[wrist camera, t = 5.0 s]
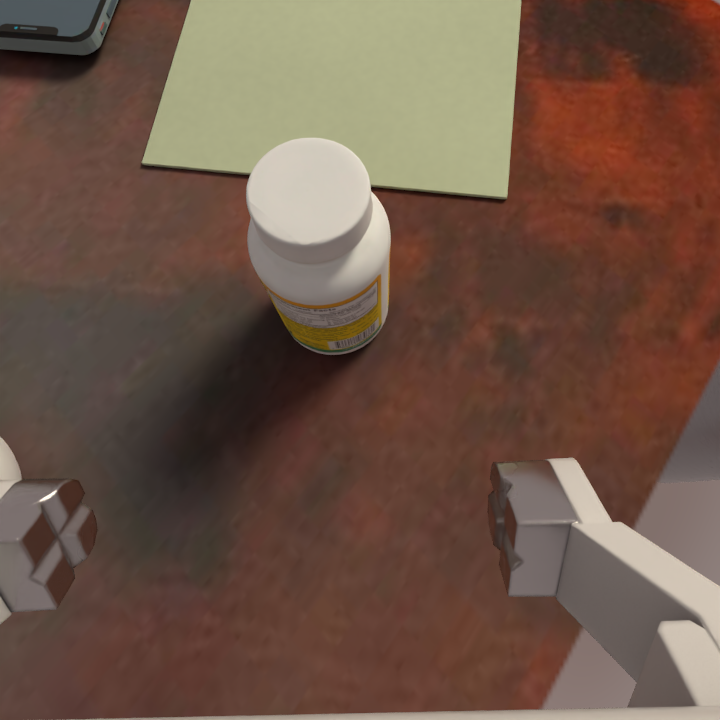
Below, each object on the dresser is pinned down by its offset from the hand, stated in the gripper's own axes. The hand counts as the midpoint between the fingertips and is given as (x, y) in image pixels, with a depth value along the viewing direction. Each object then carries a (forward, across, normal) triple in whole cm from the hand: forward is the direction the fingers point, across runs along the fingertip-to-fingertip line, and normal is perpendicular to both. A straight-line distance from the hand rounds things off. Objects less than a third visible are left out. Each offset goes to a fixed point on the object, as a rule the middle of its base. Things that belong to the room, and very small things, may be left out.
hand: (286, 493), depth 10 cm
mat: (+26, -1, -8) cm, 28 cm away
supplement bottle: (+16, 0, +3) cm, 16 cm away
